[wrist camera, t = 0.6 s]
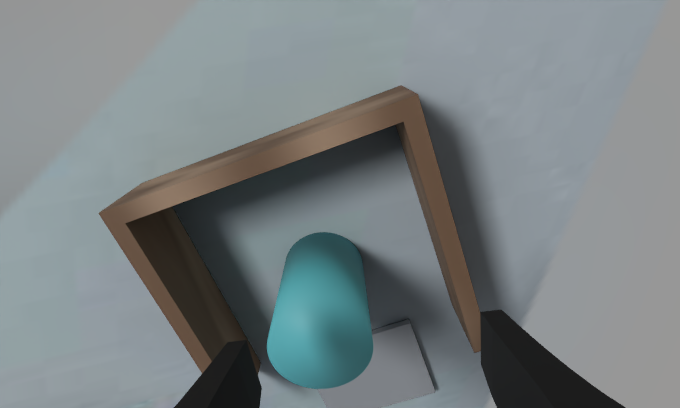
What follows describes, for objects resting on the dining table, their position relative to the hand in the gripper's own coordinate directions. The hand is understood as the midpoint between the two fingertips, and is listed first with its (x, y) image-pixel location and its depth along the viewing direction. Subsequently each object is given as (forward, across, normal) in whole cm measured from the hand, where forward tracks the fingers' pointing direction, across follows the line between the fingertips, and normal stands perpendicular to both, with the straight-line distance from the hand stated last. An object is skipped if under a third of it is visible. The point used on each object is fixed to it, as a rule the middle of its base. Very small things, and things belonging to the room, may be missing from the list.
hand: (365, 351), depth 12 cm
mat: (+10, +1, +11) cm, 14 cm away
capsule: (+10, +2, +3) cm, 10 cm away
